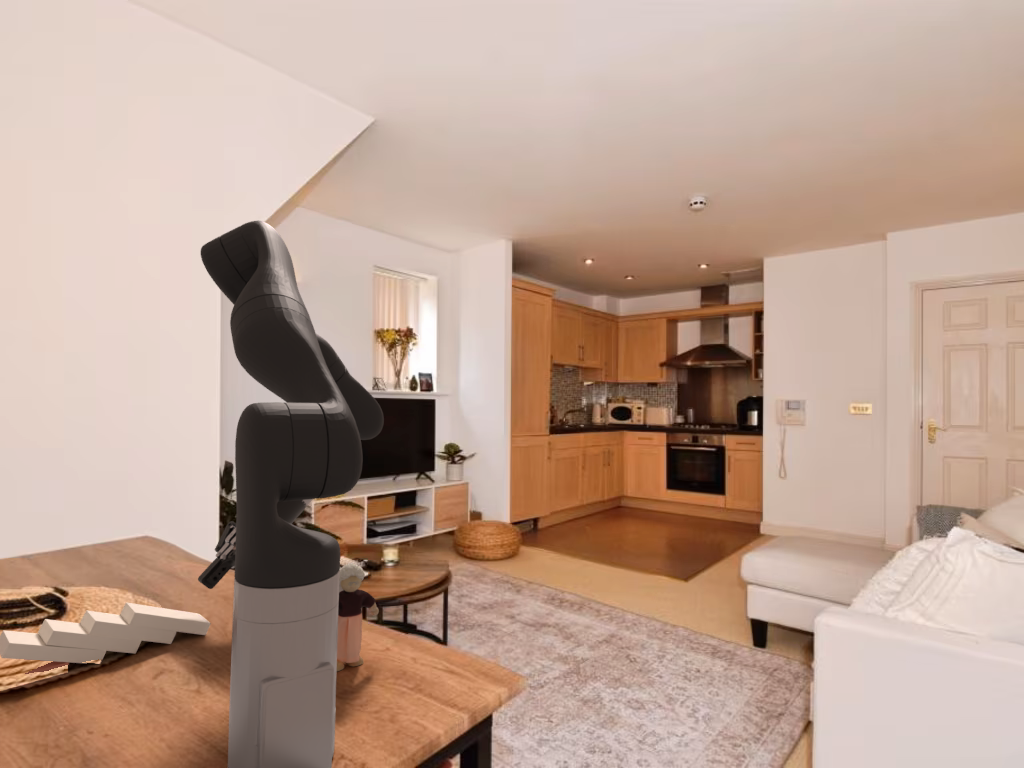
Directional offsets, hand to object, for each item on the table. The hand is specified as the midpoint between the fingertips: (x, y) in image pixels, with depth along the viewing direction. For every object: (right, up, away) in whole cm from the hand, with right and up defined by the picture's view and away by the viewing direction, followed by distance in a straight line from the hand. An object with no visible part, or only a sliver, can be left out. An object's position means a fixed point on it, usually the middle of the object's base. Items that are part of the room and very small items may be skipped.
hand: (203, 584), depth 81 cm
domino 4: (-3, -5, -3) cm, 7 cm away
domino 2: (-11, -5, -12) cm, 17 cm away
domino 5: (0, -6, 0) cm, 6 cm away
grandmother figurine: (+24, -7, -9) cm, 27 cm away
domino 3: (-6, -5, -6) cm, 10 cm away
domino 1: (-9, -5, -9) cm, 14 cm away
